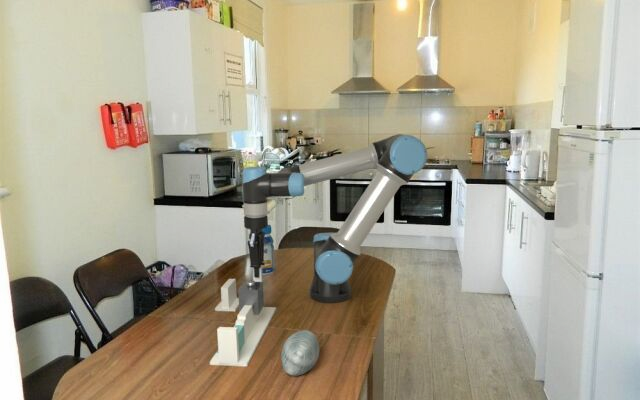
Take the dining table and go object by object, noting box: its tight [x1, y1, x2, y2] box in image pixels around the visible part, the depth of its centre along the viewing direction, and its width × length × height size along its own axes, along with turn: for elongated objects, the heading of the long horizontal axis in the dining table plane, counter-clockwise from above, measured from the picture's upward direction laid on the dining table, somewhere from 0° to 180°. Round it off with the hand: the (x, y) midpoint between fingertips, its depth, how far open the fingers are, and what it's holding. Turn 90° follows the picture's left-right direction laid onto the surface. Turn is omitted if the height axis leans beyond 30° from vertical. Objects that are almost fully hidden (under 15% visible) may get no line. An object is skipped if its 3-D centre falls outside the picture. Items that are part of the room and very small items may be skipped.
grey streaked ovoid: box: [280, 329, 320, 377], centre depth 122 cm, size 14×10×10 cm
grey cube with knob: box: [237, 279, 265, 315], centre depth 145 cm, size 6×7×9 cm
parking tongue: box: [214, 278, 239, 312], centre depth 162 cm, size 7×10×8 cm
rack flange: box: [209, 305, 277, 367], centre depth 140 cm, size 10×37×10 cm, turn 173°
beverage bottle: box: [261, 224, 275, 276], centre depth 196 cm, size 8×8×20 cm
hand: (258, 285), depth 155 cm, fingers closed
